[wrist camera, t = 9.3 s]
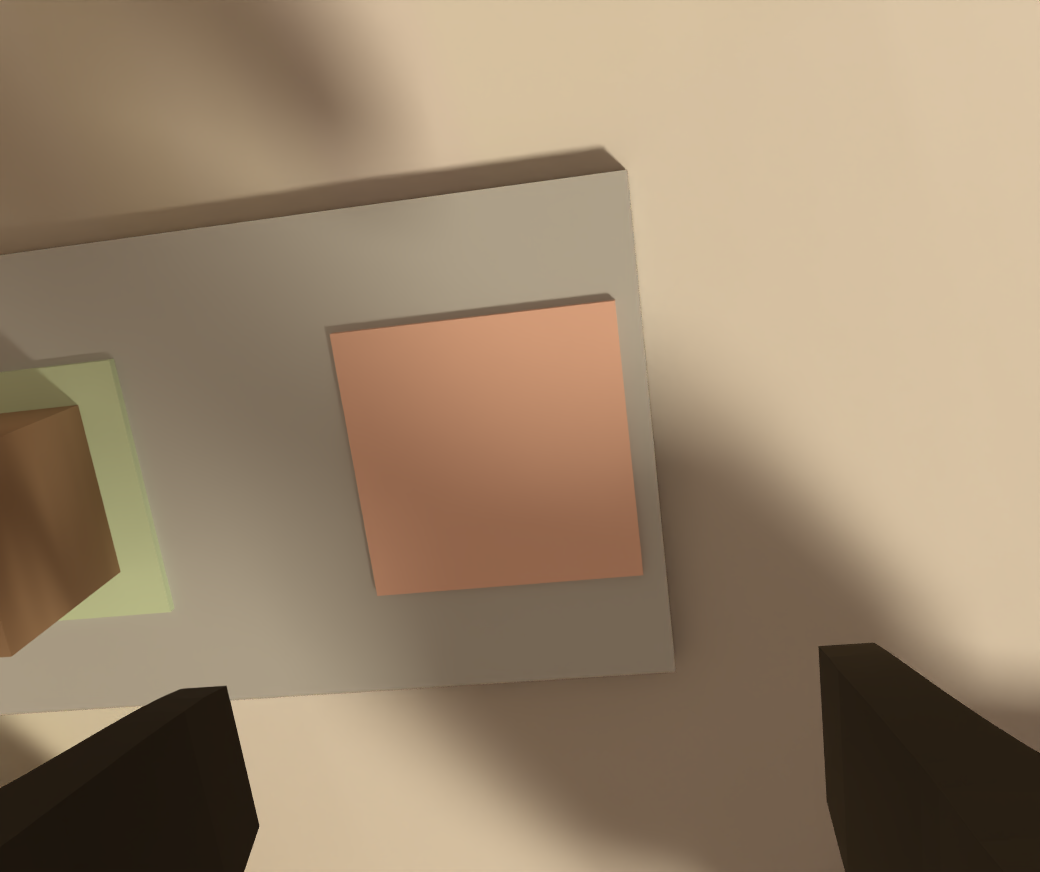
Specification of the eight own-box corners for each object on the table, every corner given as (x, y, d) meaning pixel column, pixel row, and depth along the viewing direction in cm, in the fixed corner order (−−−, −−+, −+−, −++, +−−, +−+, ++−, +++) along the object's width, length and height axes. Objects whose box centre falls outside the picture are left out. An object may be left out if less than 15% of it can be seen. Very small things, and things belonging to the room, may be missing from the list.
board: (627, 169, 19) (627, 169, 18) (674, 658, 21) (676, 676, 21) (-163, 277, 21) (-193, 280, 20) (-30, 704, 24) (-52, 722, 23)
